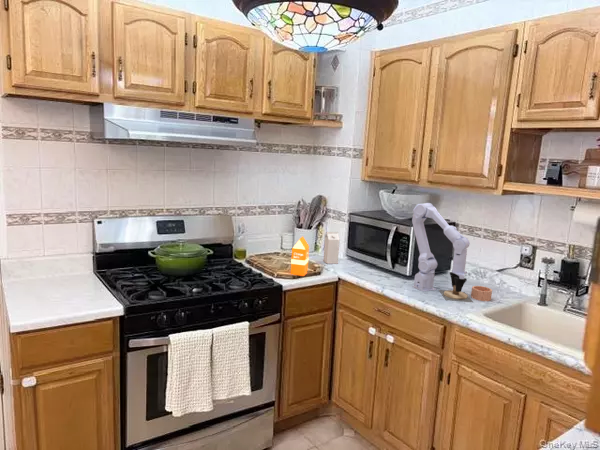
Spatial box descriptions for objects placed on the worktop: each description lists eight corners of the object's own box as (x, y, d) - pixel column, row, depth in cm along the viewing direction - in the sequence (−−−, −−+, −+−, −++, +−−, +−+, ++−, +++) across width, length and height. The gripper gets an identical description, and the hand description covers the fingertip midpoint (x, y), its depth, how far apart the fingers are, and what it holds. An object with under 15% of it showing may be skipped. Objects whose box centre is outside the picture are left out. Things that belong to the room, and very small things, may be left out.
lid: (456, 300, 212) (457, 290, 211) (438, 293, 221) (439, 284, 220) (472, 297, 217) (473, 288, 216) (454, 291, 227) (455, 281, 226)
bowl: (482, 302, 212) (483, 292, 211) (467, 296, 220) (468, 287, 219) (494, 300, 217) (496, 290, 216) (479, 294, 224) (480, 285, 223)
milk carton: (323, 261, 275) (325, 230, 272) (334, 260, 277) (336, 230, 273) (326, 264, 268) (328, 233, 265) (337, 263, 270) (340, 233, 267)
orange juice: (290, 274, 242) (292, 238, 239) (294, 270, 251) (296, 235, 247) (304, 276, 240) (306, 239, 237) (307, 271, 249) (310, 236, 246)
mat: (445, 300, 212) (445, 300, 212) (438, 290, 228) (438, 289, 228) (473, 303, 211) (473, 302, 211) (464, 292, 227) (464, 291, 226)
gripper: (472, 266, 209) (468, 294, 211) (463, 259, 223) (460, 285, 225) (456, 265, 209) (453, 293, 212) (449, 258, 224) (446, 284, 226)
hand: (456, 289), depth 219 cm, fingers open, 7 cm apart
